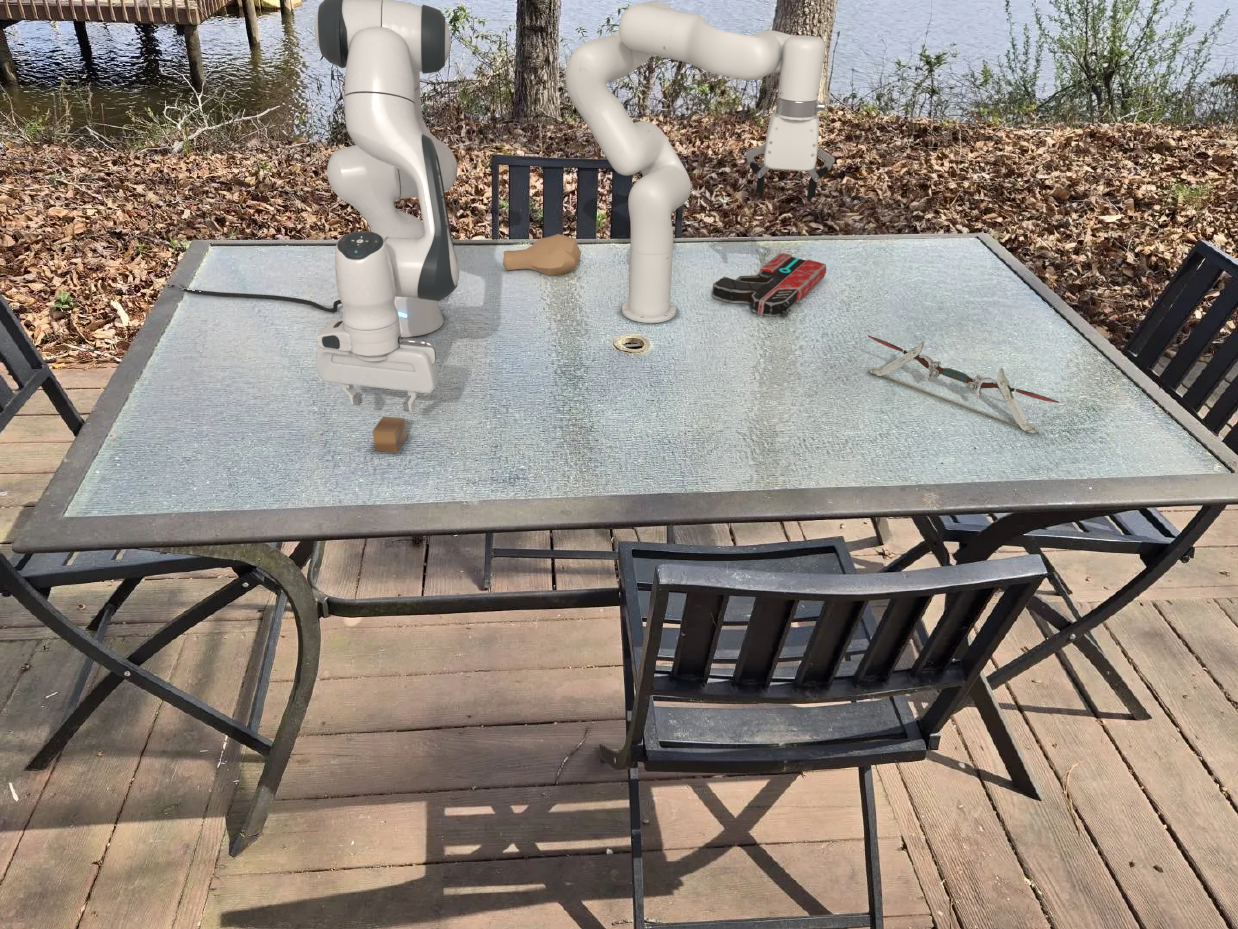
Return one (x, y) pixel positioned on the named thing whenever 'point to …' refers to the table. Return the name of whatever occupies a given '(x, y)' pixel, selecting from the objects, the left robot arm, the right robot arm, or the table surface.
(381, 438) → the block
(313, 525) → the table surface
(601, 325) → the table surface
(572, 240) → the squash
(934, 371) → the bow
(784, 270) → the gun
